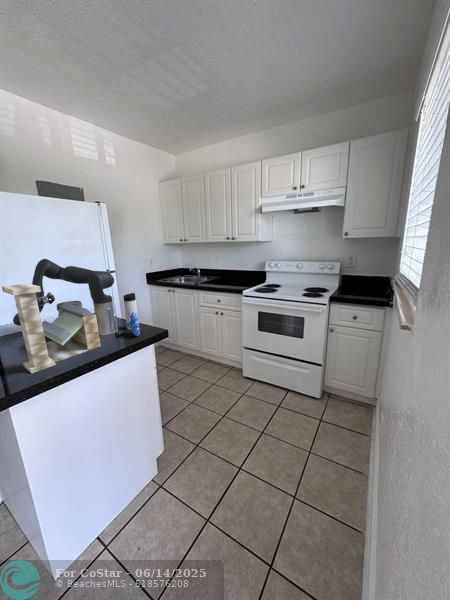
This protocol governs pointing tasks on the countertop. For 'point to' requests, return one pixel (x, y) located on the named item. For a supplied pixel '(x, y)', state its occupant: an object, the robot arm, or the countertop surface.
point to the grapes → (134, 324)
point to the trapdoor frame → (76, 340)
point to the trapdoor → (69, 321)
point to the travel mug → (130, 306)
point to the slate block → (55, 330)
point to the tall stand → (31, 326)
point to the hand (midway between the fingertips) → (39, 295)
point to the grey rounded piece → (76, 303)
